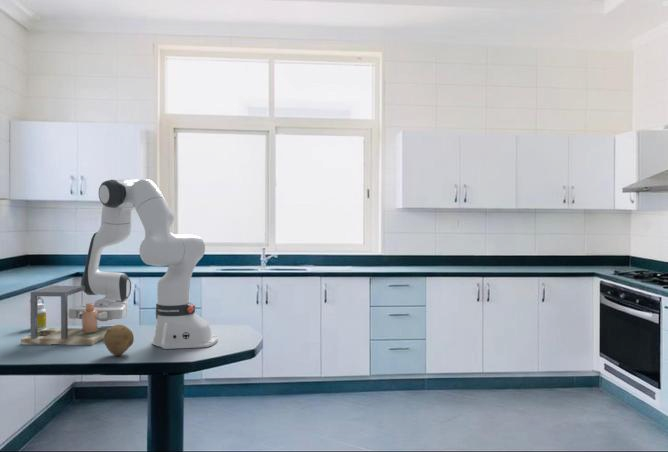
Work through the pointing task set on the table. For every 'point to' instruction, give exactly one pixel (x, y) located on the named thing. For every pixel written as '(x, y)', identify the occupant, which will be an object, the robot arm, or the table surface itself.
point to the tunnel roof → (63, 293)
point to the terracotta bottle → (89, 319)
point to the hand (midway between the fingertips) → (88, 316)
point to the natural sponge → (118, 339)
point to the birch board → (74, 338)
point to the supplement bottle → (41, 316)
